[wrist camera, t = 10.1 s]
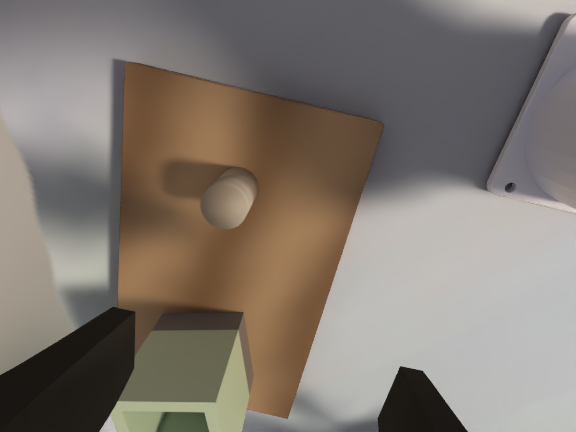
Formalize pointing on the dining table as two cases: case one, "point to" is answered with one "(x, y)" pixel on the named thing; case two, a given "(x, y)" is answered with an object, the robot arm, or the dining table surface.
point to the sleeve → (189, 376)
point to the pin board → (267, 235)
